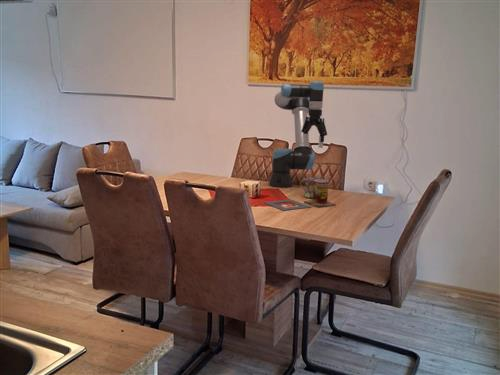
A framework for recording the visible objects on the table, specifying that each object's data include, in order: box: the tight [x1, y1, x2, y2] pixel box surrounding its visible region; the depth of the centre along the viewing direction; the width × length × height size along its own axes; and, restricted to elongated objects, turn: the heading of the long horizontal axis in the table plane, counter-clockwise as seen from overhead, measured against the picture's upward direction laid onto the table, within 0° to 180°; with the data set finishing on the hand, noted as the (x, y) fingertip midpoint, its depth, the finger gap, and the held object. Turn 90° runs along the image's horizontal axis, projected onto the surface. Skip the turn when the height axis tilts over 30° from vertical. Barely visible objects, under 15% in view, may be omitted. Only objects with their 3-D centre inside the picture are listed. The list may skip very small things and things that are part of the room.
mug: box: [299, 177, 319, 199], centre depth 270 cm, size 12×9×11 cm
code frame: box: [263, 198, 312, 212], centre depth 248 cm, size 18×18×1 cm
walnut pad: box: [303, 199, 337, 209], centre depth 253 cm, size 12×12×1 cm
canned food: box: [312, 178, 330, 204], centre depth 252 cm, size 8×8×12 cm
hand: (313, 146), depth 270 cm, fingers open, 13 cm apart
